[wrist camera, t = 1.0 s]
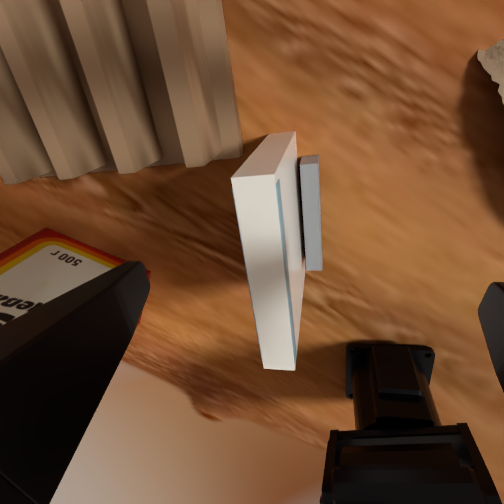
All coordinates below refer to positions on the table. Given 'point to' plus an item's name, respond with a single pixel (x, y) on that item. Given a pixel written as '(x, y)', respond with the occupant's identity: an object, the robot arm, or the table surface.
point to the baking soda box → (47, 271)
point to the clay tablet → (494, 64)
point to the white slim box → (272, 245)
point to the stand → (311, 211)
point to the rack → (113, 87)
